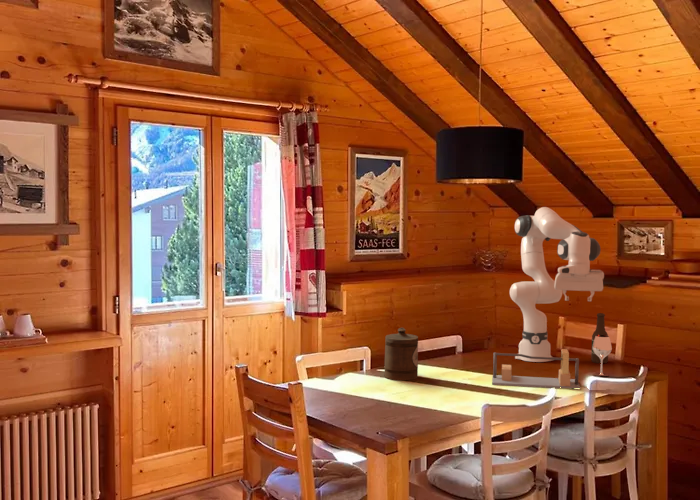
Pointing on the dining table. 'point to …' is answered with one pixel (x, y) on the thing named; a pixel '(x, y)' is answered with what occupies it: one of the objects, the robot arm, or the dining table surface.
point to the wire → (534, 357)
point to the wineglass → (602, 348)
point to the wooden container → (401, 356)
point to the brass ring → (564, 361)
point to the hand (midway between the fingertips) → (578, 300)
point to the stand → (534, 378)
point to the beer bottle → (599, 331)
